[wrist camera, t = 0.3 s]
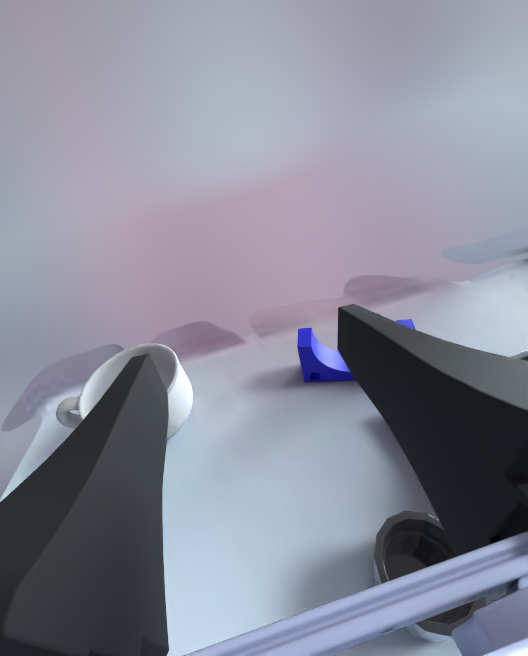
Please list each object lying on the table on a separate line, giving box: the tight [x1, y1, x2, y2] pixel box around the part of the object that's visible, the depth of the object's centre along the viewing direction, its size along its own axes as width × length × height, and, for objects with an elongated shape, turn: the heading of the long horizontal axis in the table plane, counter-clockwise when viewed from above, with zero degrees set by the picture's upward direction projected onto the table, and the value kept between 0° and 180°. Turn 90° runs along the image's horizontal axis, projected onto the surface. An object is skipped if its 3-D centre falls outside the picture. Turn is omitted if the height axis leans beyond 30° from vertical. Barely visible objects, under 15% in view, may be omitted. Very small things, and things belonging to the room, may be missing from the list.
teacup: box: [56, 343, 193, 440], centre depth 33 cm, size 14×11×8 cm
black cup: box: [373, 511, 486, 642], centre depth 18 cm, size 6×6×5 cm
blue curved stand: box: [297, 319, 416, 382], centre depth 33 cm, size 12×4×6 cm, turn 83°
